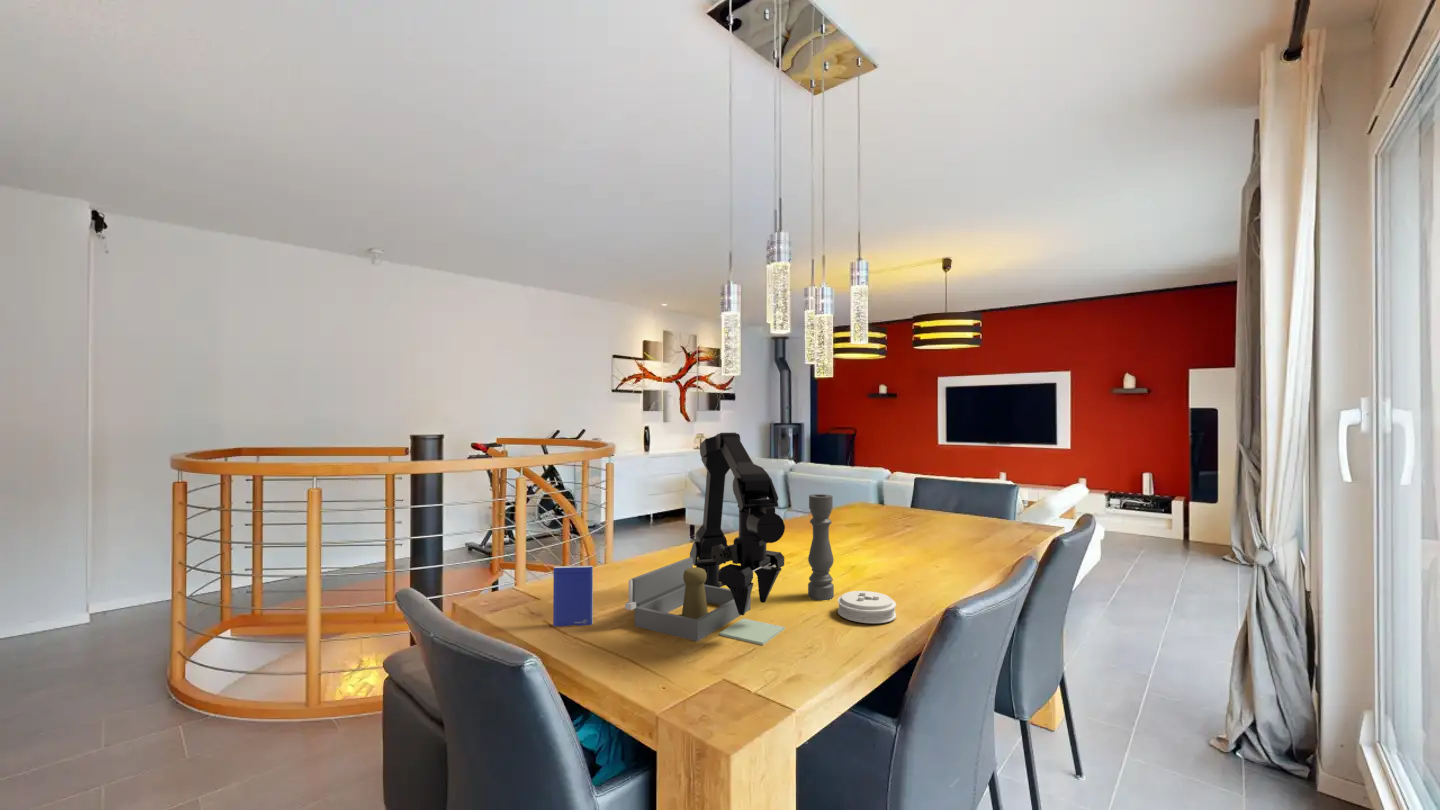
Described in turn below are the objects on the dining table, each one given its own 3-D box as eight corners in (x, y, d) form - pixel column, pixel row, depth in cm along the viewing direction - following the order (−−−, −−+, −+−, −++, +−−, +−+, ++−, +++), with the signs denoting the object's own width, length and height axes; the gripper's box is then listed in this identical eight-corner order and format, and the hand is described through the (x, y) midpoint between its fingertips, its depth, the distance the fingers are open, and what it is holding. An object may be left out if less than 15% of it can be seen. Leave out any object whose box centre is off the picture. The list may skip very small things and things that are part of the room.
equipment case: (688, 598, 148) (688, 557, 148) (750, 610, 139) (750, 566, 139) (625, 627, 128) (625, 580, 128) (693, 644, 119) (693, 593, 119)
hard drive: (592, 625, 129) (592, 567, 129) (552, 626, 128) (553, 568, 128) (592, 622, 131) (593, 565, 131) (554, 624, 130) (554, 566, 130)
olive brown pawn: (688, 624, 129) (688, 573, 129) (676, 616, 135) (676, 566, 135) (713, 620, 132) (713, 569, 132) (701, 612, 138) (701, 563, 138)
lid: (906, 625, 130) (906, 602, 130) (851, 629, 127) (851, 606, 127) (879, 606, 142) (879, 585, 142) (829, 610, 140) (829, 588, 140)
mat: (743, 621, 132) (743, 618, 132) (784, 629, 126) (784, 627, 126) (719, 635, 123) (719, 632, 123) (762, 645, 118) (762, 642, 118)
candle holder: (837, 596, 149) (837, 495, 149) (827, 603, 144) (827, 498, 144) (814, 592, 152) (814, 493, 152) (803, 599, 147) (803, 496, 147)
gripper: (740, 521, 137) (740, 590, 137) (695, 536, 121) (694, 614, 121) (785, 526, 131) (785, 598, 131) (743, 543, 115) (743, 625, 115)
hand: (752, 608), depth 125 cm, fingers open, 9 cm apart
